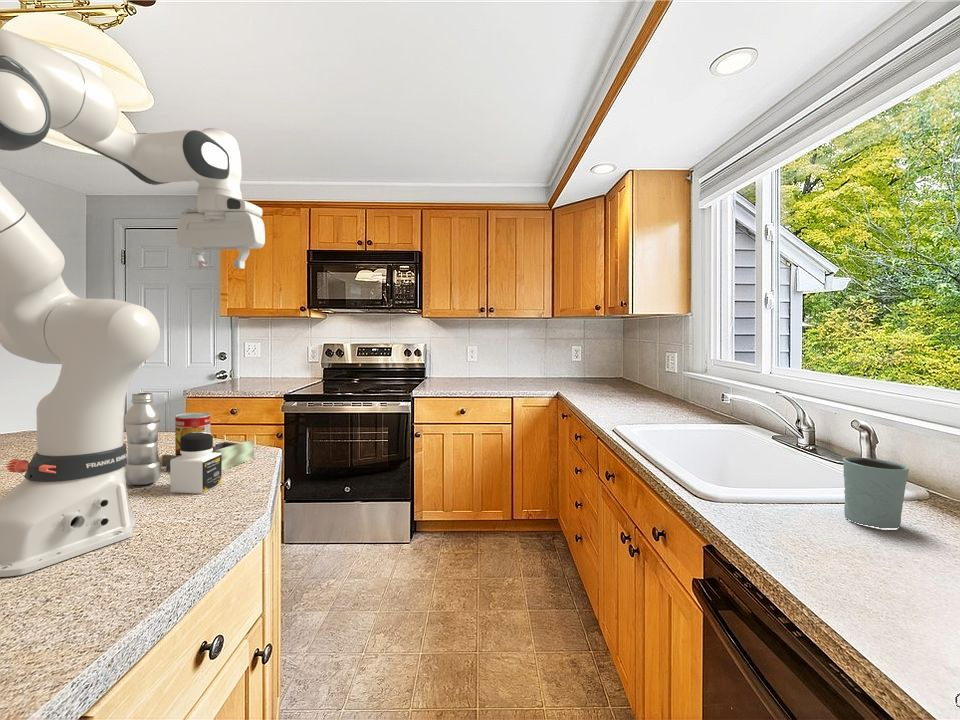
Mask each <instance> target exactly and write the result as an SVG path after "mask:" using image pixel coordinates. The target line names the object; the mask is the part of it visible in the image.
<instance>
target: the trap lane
mask: <svg viewBox="0 0 960 720" xmlns="http://www.w3.org/2000/svg"><path fill="white" fill-rule="evenodd" d="M214 445H215V446H214ZM214 445H213V451H212V452H215V453H221V454H222V470H223V471H225V470H227V468H228V469H231V468H233V466H234V467H236V466H239V465H242V464H244V463H243V462H245V463H247V462H249V460H250V461H252V460H251V459H253V460H254V459H255V455H254V454H255V452H254V451H255V440H250V439H249V440H246V441H242V442H229V441H223V442H220V443H217V444H214ZM179 456H181V455H177V456H176V455H173V454H163V455H161V465H162V466H165V465H167V466H166V471H167V472H170V461H171V459H174V458H176V457H179ZM246 461H247V462H246ZM241 463H242V464H241ZM238 464H239V465H238ZM235 465H236V466H235ZM230 467H231V468H230Z"/></svg>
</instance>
